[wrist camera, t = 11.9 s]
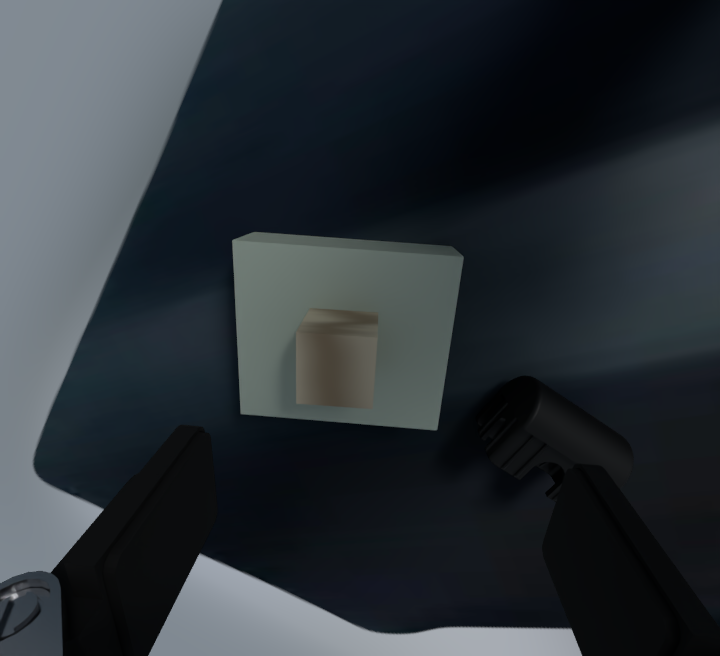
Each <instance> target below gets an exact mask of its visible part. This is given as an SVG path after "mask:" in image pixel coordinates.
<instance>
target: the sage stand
mask: <svg viewBox="0 0 720 656" xmlns="http://www.w3.org/2000/svg"><path fill="white" fill-rule="evenodd" d="M232 244H233V265H234V285H235V306H236V326H237V347H238V368H239V388H240V409H241V414H247V415H259V416H271V417H283V418H295V419H307V420H319V421H330V422H342V423H354V424H366V425H378V426H390V427H402V428H414V429H426V430H437V428H438V421H439V415H440V408H441V402H442V395H443V389H444V382H445V376H446V369H447V363H448V356H449V350H450V344H451V337H452V331H453V324H454V318H455V311H456V305H457V298H458V292H459V285H460V279H461V272H462V266H463V260H464V257H463V256H462V255H461V254H460V253H459V252H458V251H457V250H456V249H454V248H453V247H452V246H443V245H429V244H415V243H401V242H387V241H373V240H359V239H345V238H331V237H317V236H303V235H289V234H275V233H261V232H253V233H250V234H248V235H245V236H242V237H240V238H237V239H234V240H232ZM310 308H316V309H332V310H348V311H363V312H378V341H377V355H376V369H375V383H374V397H373V409H364V408H350V407H336V406H322V405H308V404H296V331H297V330H298V328H299V326H300V324H301V323H302V321H303V319H304V317H305V316H306V314H307V312H308V310H309V309H310Z"/></svg>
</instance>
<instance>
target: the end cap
mask: <svg viewBox="0 0 720 656" xmlns="http://www.w3.org/2000/svg"><path fill="white" fill-rule="evenodd" d="M476 421H477V423H478V424H479V426H480V428H479V429H478V432H479V435H480V437H481V439H482V440H484V441H485V440H486V439H487V438H488V437H490V438H492V439H493V440H492V441H491V442H490V443H489V444H488V445H487V446H486V447H485V450H486V453H487V455H488V458H489V459H490V461H491V462H492V463H493V464H494V465H496V466H497V467H499V468H501V469H502V470H504V471H506V472H507V473H509V474H511V475H512V476H514V477H515V478H517V479H519V480H521V479H522V478H523V477H524V476H525V475H526V474H527V473H528V472H529V471H530V470H531V469H532V468H533V467H534V466H537V467H538V468H540V469H542V470H543V471H545V472H546V473H548V474H549V475H550V476H551V477H552V479H553V480H554V482H555V484H554V485H553V486H552V487H551V488H550V489H549V490H548V491H547V492H546V493H545V494H546V495H547V497H548V498H550V499H552V500H553V501H555V502H556V501H557V498H558V495H559V492H560V488H561V485H562V482H563V479H564V476H565V473H566V471H567V470H568V469H570V468H571V469H572V468H573V466H574V465H575V464H577V463H581V464H591V465H600V466H602V467H603V468H604V469H605V470H606V471H607V472H608V474H609V475H610V477H611V478H612V479H613V481H614V482H615V483H616V485H617V486H618V488H619V489H621V488H622V487H623V486H624V485H625V483H626V482H627V480H628V479H629V477H630V474H631V472H632V468H633V458H634V457H633V452H632V449H631V447H630V444H629V443H628V442H627V440H626V439H625V438H624V437H622V436H621V435H620V434H618V433H617V432H615V431H614V430H612V429H611V428H609V427H608V426H606V425H605V424H603V423H602V422H600V421H599V420H597V419H596V418H594V417H593V416H591V415H590V414H588V413H587V412H585V411H584V410H582V409H581V408H579V407H578V406H576V405H575V404H573V403H572V402H570V401H569V400H567V399H566V398H564V397H563V396H561V395H560V394H558V393H557V392H555V391H554V390H552V389H551V388H549V387H548V386H546V385H545V384H543V383H542V382H540V381H539V380H537V379H536V378H533V377H531V376H520V377H517V378H515V379H513V380H511V381H509V382H508V383H507V384H506V385H504V386H503V387H502V388H501V389H500V391H499V392H498V393H497V394H496V395H495V396H494V397H493V399H492V400H491V401H490V402H489V403H488V404H487V405H486V406H485V407H484V408H483V409H482V411H481V412H480V413H479V414H478V415H477V417H476Z"/></svg>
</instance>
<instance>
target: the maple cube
mask: <svg viewBox="0 0 720 656" xmlns="http://www.w3.org/2000/svg"><path fill="white" fill-rule="evenodd" d="M377 341H378V312H363V311H348V310H332V309H316V308H310V309H309V310H308V312H307V314H306V316H305V317H304V319H303V321H302V323H301V324H300V326H299V328H298V330H297V331H296V404H308V405H322V406H336V407H350V408H364V409H373V397H374V383H375V369H376V355H377Z"/></svg>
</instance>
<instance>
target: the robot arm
mask: <svg viewBox="0 0 720 656" xmlns="http://www.w3.org/2000/svg"><path fill="white" fill-rule="evenodd" d="M216 517H217V497H216V487H215V477H214V466H213V456H212V446H211V437H210V434H209V433H205V430H204V428H203V427H199V426H189V425H180V426H178V427H177V428H176V429H175V431H174V432H173V433H172V434H171V435H170V437H169V438H168V439H167V440H166V441H165V443H164V444H163V445H162V446H161V447H160V449H159V450H158V451H157V452H156V453H155V455H154V456H153V457H152V458H151V459H150V461H149V462H148V463H147V464H146V465H145V467H144V468H143V469H142V470H141V471H140V473H138V474H136V475H134V476H133V477H132V478H131V479H130V480H129V481H128V482H127V483H126V484H125V486H124V487H123V488H122V489H121V490H120V491H119V493H118V494H117V495H116V496H115V497H114V499H113V500H112V501H111V502H110V503H109V504H108V506H107V507H106V508H105V509H104V510H103V511H102V513H101V514H100V515H99V516H98V517H97V519H96V520H95V521H94V522H93V523H92V524H91V526H90V527H89V528H88V529H87V530H86V532H85V533H84V534H83V535H82V536H81V538H80V539H79V540H78V541H77V542H76V543H75V545H74V546H73V547H72V548H71V549H70V550H69V552H68V553H67V554H66V555H65V557H64V558H63V559H62V560H61V561H60V562H59V564H58V565H57V566H56V567H55V568H54V569H53V571H52V572H51V573H48V572H43V571H36V572H27V573H24V574H21V575H18V576H15V577H12V578H10V579H8V580H6V581H4V582H2V583H0V656H148V655H149V653H150V651H151V649H152V647H153V645H154V643H155V641H156V639H157V637H158V635H159V633H160V631H161V629H162V627H163V625H164V623H165V621H166V619H167V617H168V615H169V613H170V611H171V609H172V607H173V605H174V603H175V601H176V599H177V597H178V595H179V593H180V591H181V589H182V587H183V585H184V583H185V581H186V579H187V577H188V575H189V573H190V571H191V569H192V567H193V565H194V563H195V561H196V559H197V557H198V555H199V553H200V551H201V549H202V547H203V545H204V543H205V541H206V539H207V537H208V535H209V533H210V531H211V529H212V527H213V525H214V523H215V520H216ZM542 551H543V557H544V560H545V563H546V565H547V568H548V570H549V573H550V575H551V578H552V580H553V583H554V585H555V588H556V590H557V593H558V595H559V598H560V600H561V603H562V606H563V608H564V611H565V613H566V616H567V618H568V621H569V623H570V626H571V628H572V631H573V633H574V636H575V638H576V641H577V643H578V646H579V648H580V651H581V653H582V656H720V628H719V626H718V625H717V623H716V622H715V621H714V619H713V618H712V617H711V615H710V614H709V612H708V611H707V610H706V608H705V607H704V605H703V604H702V603H701V601H700V600H699V599H698V597H697V596H696V594H695V593H694V592H693V590H692V589H691V587H690V586H689V585H688V583H687V582H686V580H685V579H684V578H683V576H682V575H681V574H680V572H679V571H678V569H677V568H676V567H675V565H674V564H673V562H672V561H671V560H670V558H669V557H668V556H667V554H666V553H665V551H664V550H663V549H662V547H661V546H660V544H659V543H658V542H657V540H656V539H655V538H654V536H653V535H652V533H651V532H650V531H649V529H648V528H647V526H646V525H645V524H644V522H643V521H642V519H641V518H640V517H639V515H638V514H637V513H636V511H635V510H634V508H633V507H632V506H631V504H630V503H629V501H628V500H627V499H626V497H625V496H624V495H623V493H622V492H621V490H620V489H619V488H618V486H617V485H616V483H615V482H614V481H613V479H612V478H611V477H610V475H609V474H608V472H607V471H606V470H605V469H604V468H603V467H602V466H600V465H591V464H581V463H577V464H575V465H574V466H573V468H572V469H571V468H570V469H568V470H567V471H566V473H565V476H564V479H563V482H562V485H561V488H560V492H559V495H558V498H557V501H556V504H555V507H554V510H553V513H552V516H551V519H550V522H549V525H548V529H547V532H546V535H545V538H544V541H543V545H542Z"/></svg>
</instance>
